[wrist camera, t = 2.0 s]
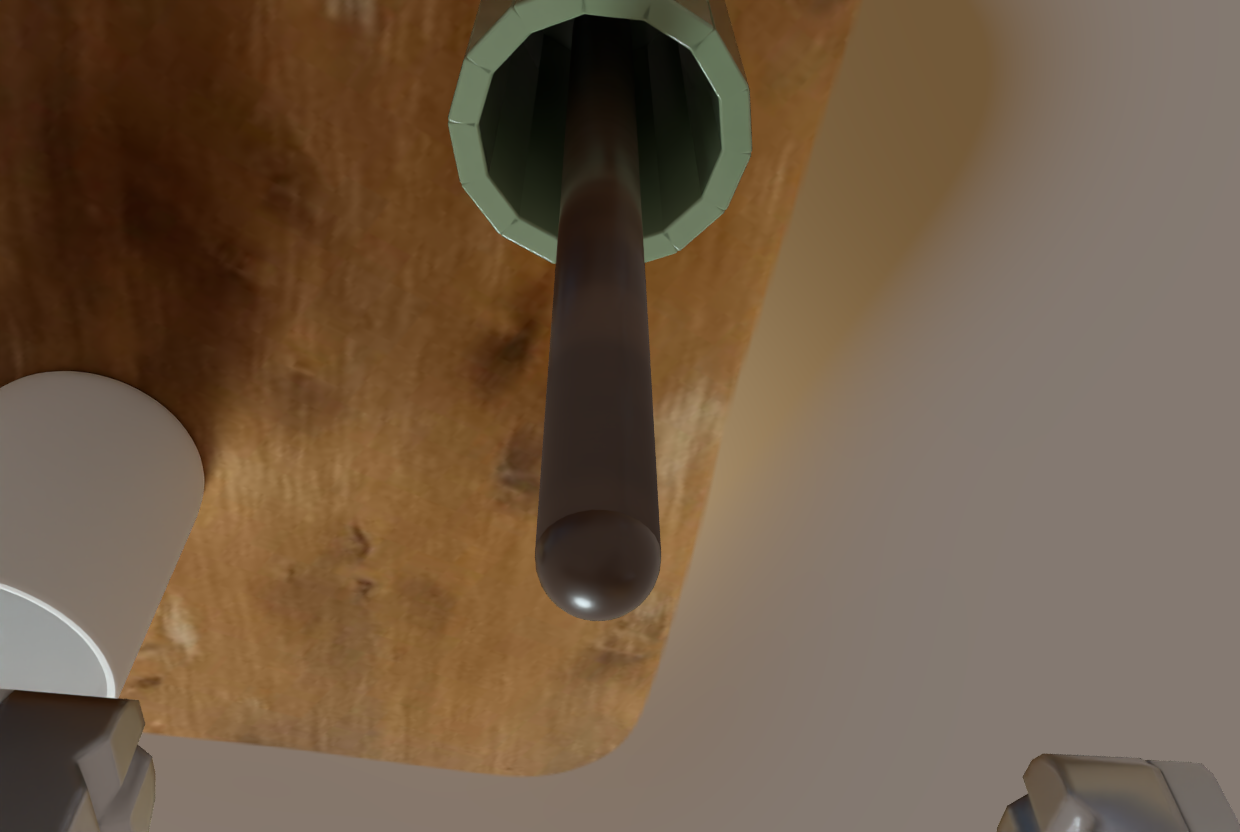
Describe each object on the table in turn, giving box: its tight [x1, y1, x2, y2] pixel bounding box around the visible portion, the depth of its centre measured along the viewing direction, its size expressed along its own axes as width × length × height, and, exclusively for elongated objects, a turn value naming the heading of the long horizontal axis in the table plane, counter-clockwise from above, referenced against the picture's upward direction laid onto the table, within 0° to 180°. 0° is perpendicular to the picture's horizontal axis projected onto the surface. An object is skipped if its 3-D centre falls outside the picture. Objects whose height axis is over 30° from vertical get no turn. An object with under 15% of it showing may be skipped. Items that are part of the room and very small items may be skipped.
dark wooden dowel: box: [535, 14, 661, 621], centre depth 21 cm, size 2×1×24 cm, turn 174°
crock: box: [448, 0, 752, 264], centre depth 27 cm, size 6×6×12 cm
